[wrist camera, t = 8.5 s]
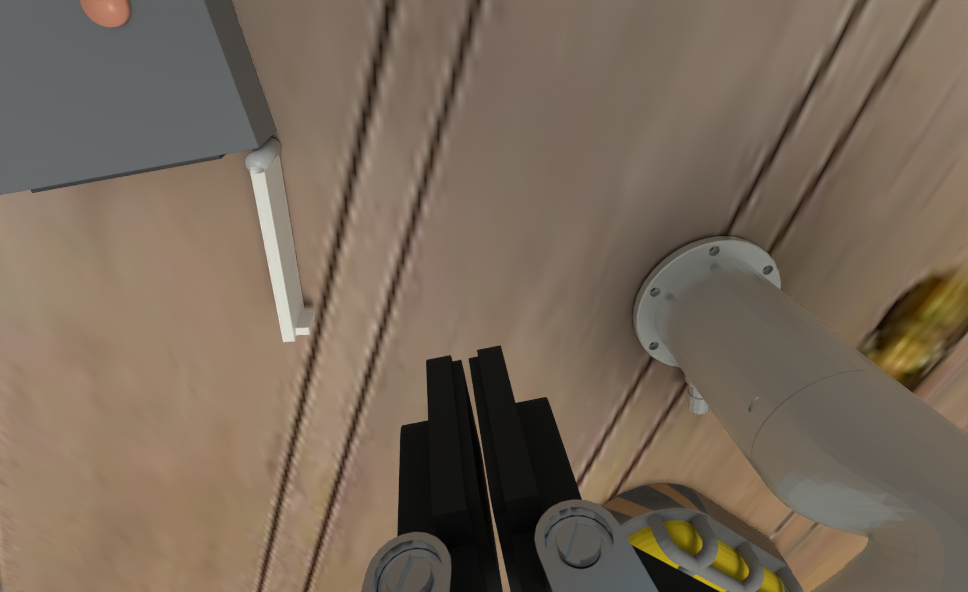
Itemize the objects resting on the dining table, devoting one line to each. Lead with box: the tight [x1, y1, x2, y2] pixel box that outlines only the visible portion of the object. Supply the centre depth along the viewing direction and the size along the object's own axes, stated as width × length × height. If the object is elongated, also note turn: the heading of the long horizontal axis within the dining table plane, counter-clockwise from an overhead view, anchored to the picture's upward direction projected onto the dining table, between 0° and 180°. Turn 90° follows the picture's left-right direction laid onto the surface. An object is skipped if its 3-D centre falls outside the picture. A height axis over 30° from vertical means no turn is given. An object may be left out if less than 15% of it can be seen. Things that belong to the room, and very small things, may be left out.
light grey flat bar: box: [245, 138, 315, 342], centre depth 35 cm, size 2×13×4 cm, turn 178°
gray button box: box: [0, 0, 276, 195], centre depth 28 cm, size 14×15×5 cm
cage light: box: [602, 483, 803, 592], centre depth 60 cm, size 15×8×30 cm
